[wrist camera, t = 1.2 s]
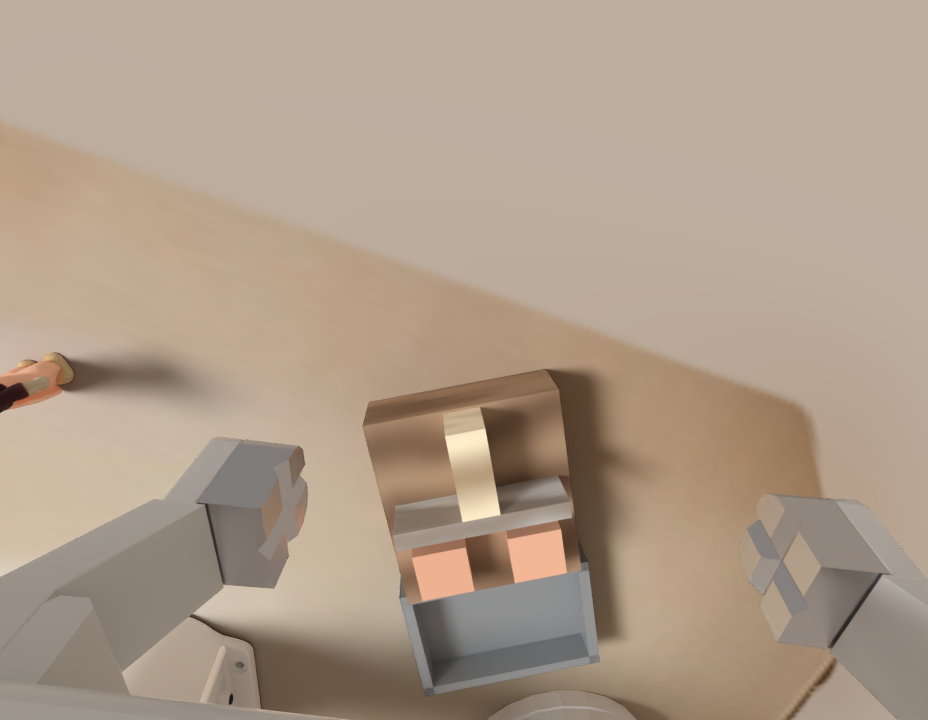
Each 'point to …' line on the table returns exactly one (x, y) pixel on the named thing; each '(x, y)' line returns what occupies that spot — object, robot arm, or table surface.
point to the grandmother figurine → (34, 381)
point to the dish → (564, 707)
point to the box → (503, 631)
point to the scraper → (476, 494)
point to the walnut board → (511, 451)
